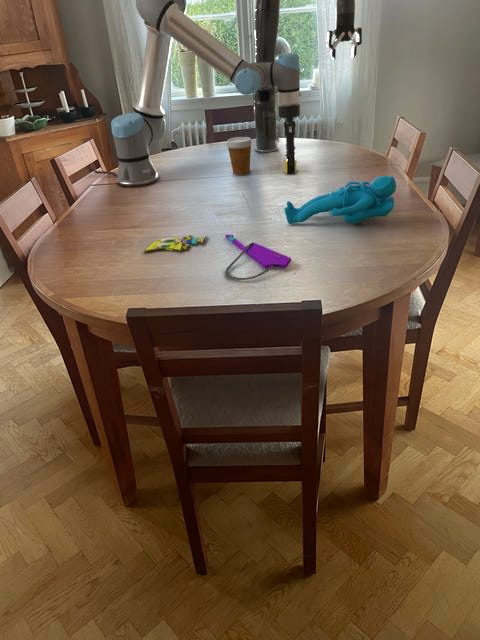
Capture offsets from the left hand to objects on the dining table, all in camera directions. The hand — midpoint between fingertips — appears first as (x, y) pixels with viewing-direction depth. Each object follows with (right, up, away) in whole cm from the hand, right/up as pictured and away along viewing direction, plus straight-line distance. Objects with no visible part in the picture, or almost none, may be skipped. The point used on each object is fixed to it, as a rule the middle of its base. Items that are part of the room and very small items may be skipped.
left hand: (290, 170), depth 179 cm
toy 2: (+9, -28, -44) cm, 53 cm away
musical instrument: (-18, -41, -60) cm, 75 cm away
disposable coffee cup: (-18, 0, +4) cm, 19 cm away
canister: (0, 0, 0) cm, 0 cm away
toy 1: (-36, -35, -49) cm, 71 cm away
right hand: (+24, +53, +19) cm, 61 cm away
